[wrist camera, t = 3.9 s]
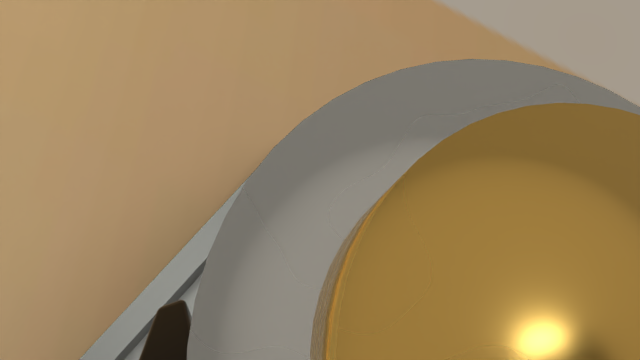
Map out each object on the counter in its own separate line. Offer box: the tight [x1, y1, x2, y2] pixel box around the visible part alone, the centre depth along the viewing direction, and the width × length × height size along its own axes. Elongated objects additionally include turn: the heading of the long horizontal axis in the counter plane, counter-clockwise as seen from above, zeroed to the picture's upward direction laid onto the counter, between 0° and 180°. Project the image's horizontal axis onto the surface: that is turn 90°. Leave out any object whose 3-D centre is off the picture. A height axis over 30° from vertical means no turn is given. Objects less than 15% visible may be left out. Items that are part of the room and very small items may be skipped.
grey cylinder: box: [187, 59, 640, 360], centre depth 9 cm, size 5×5×13 cm
